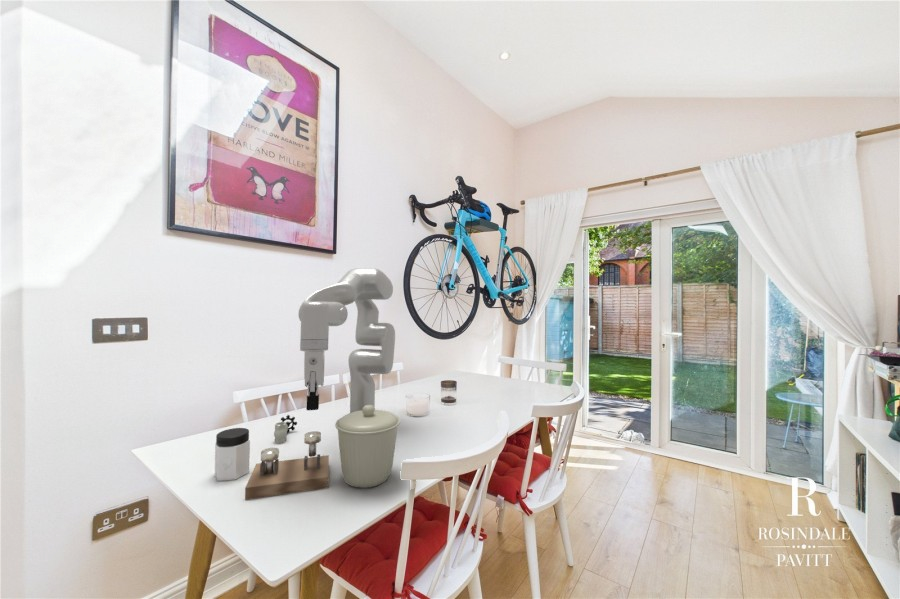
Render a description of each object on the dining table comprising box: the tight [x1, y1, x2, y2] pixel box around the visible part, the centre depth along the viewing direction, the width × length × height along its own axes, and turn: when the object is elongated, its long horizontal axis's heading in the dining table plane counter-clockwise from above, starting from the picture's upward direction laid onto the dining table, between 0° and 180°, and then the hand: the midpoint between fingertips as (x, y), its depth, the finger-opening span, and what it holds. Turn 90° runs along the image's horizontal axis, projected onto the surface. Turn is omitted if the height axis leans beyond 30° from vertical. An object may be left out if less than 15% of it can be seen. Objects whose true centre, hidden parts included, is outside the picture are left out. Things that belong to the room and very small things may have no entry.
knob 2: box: [303, 430, 322, 458], centre depth 101 cm, size 4×4×6 cm
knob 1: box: [260, 447, 280, 474], centre depth 97 cm, size 4×4×6 cm
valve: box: [273, 414, 298, 445], centre depth 130 cm, size 7×7×12 cm
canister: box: [334, 405, 401, 489], centre depth 101 cm, size 18×18×21 cm
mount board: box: [244, 454, 330, 501], centre depth 99 cm, size 20×14×6 cm
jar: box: [214, 427, 251, 482], centre depth 102 cm, size 9×8×12 cm
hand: (312, 409), depth 101 cm, fingers closed
